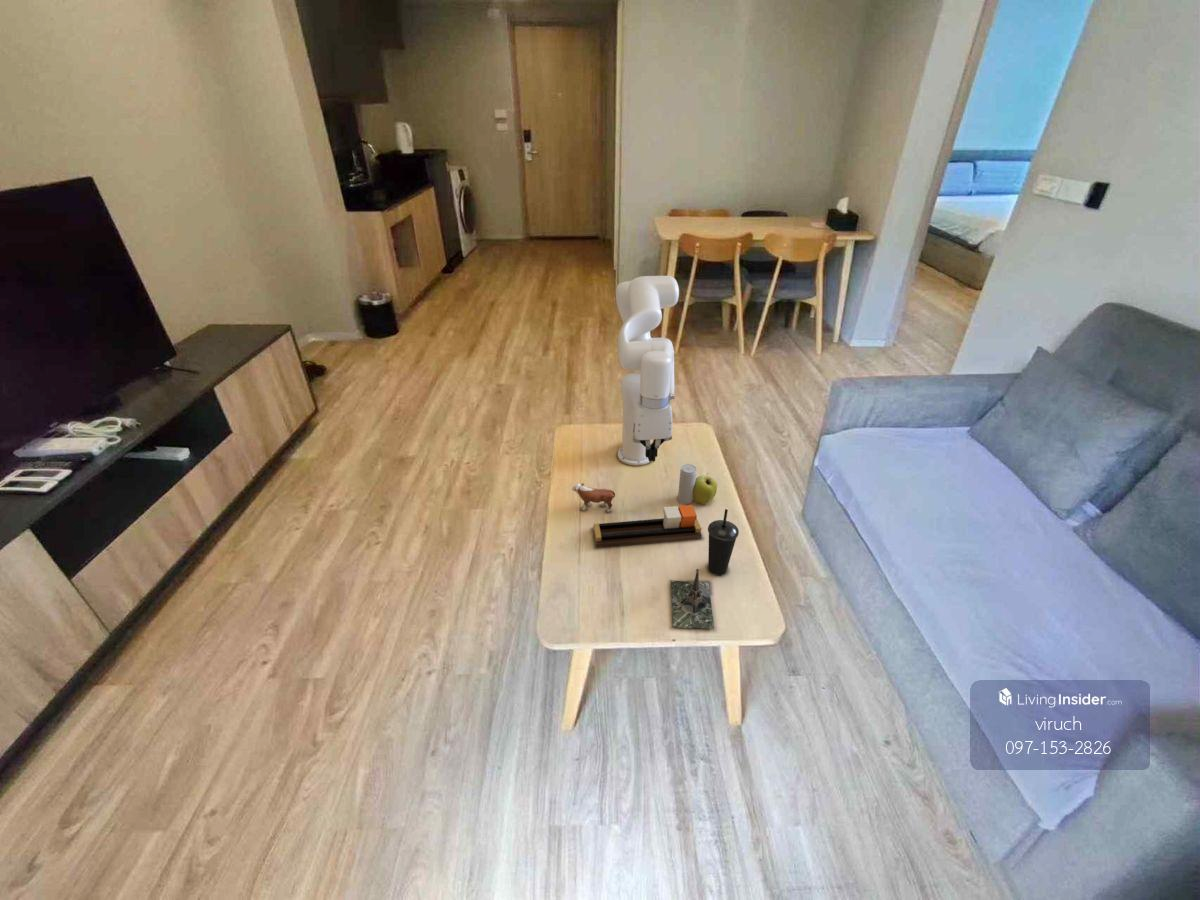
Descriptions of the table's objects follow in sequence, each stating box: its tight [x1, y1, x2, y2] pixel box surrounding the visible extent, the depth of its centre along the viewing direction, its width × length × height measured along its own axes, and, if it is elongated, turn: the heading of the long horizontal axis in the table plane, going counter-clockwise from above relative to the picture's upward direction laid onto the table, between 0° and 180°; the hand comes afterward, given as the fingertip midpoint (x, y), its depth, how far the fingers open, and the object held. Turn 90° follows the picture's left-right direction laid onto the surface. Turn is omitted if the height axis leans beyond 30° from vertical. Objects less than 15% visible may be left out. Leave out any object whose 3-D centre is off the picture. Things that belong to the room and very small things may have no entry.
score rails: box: [593, 517, 702, 541], centre depth 153 cm, size 6×30×2 cm, turn 97°
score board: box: [592, 524, 702, 549], centre depth 154 cm, size 8×30×2 cm, turn 97°
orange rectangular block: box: [678, 504, 698, 528], centre depth 153 cm, size 5×4×6 cm
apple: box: [693, 472, 718, 505], centre depth 165 cm, size 8×8×10 cm
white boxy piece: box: [662, 505, 681, 529], centre depth 152 cm, size 5×4×6 cm
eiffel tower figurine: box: [669, 568, 715, 629], centre depth 129 cm, size 15×10×13 cm
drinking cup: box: [707, 508, 740, 576], centre depth 137 cm, size 8×8×20 cm
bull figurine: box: [571, 482, 616, 513], centre depth 162 cm, size 4×13×8 cm, turn 78°
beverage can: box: [677, 463, 697, 505], centre depth 164 cm, size 5×5×12 cm
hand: (651, 458), depth 148 cm, fingers closed
